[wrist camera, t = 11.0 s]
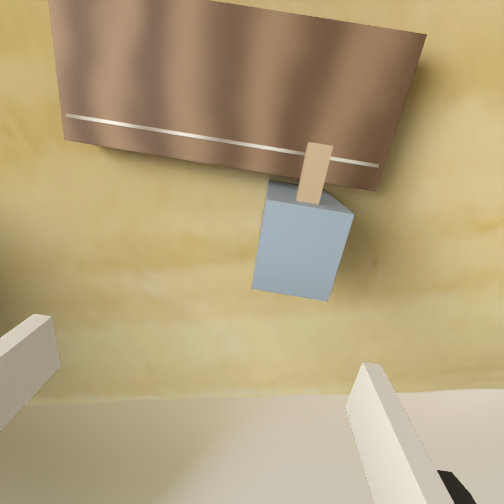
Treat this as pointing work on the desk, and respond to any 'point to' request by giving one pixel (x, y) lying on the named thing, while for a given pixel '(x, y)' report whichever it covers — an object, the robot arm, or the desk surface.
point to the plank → (232, 84)
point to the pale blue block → (302, 233)
